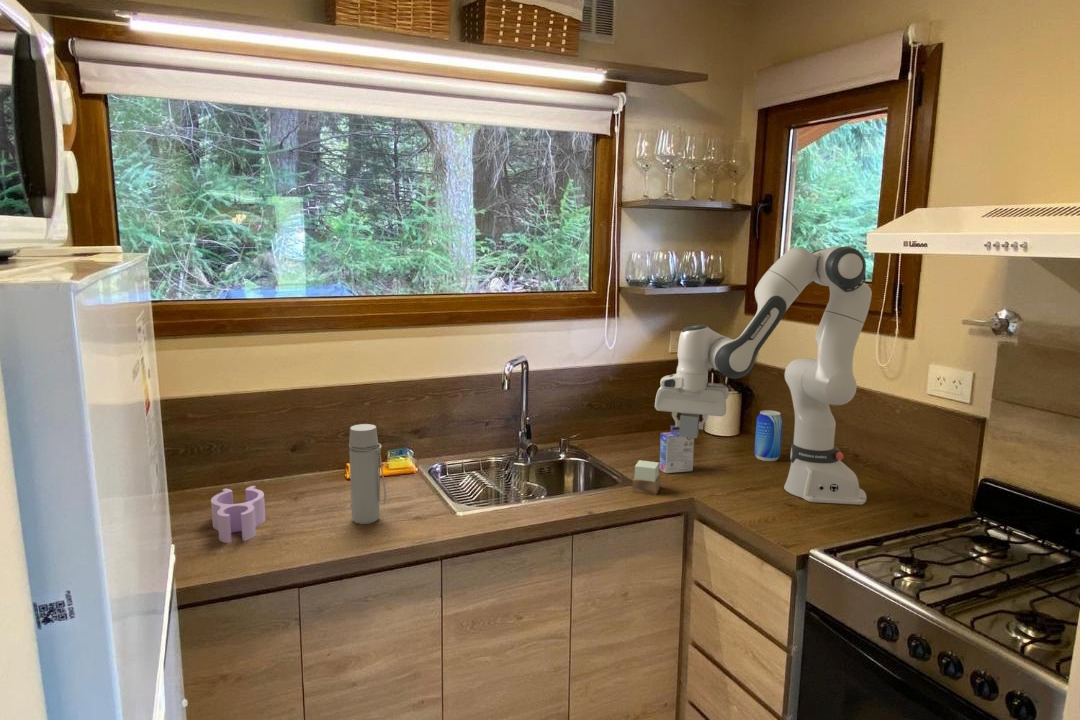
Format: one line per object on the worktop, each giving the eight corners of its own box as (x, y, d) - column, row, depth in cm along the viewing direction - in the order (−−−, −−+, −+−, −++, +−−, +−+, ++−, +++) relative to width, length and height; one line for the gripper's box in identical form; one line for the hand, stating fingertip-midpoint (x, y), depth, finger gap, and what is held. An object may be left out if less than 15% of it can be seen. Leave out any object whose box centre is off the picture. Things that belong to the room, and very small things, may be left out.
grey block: (698, 433, 206) (699, 413, 205) (696, 438, 201) (697, 417, 200) (681, 432, 207) (682, 412, 206) (679, 436, 203) (680, 416, 201)
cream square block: (658, 475, 209) (659, 462, 208) (654, 481, 204) (655, 468, 203) (638, 472, 211) (639, 460, 210) (634, 479, 205) (634, 466, 205)
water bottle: (346, 525, 180) (342, 430, 175) (358, 513, 187) (355, 422, 183) (380, 527, 178) (378, 432, 174) (391, 515, 186) (389, 424, 182)
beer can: (748, 456, 241) (751, 410, 238) (767, 453, 245) (770, 408, 242) (766, 463, 234) (769, 416, 231) (785, 460, 237) (788, 414, 234)
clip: (264, 539, 171) (263, 512, 170) (208, 546, 167) (206, 518, 166) (265, 509, 190) (264, 484, 189) (215, 514, 186) (213, 489, 184)
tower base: (659, 487, 210) (660, 475, 209) (656, 495, 204) (656, 482, 203) (636, 484, 212) (637, 472, 212) (632, 492, 206) (632, 479, 205)
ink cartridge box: (685, 466, 230) (687, 423, 227) (693, 471, 225) (696, 427, 222) (658, 468, 227) (660, 425, 225) (665, 474, 222) (667, 429, 219)
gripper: (729, 382, 201) (726, 428, 204) (658, 376, 207) (656, 421, 210) (728, 386, 195) (725, 434, 198) (655, 380, 201) (652, 427, 204)
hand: (689, 427), depth 204 cm, fingers closed on grey block, 5 cm apart
